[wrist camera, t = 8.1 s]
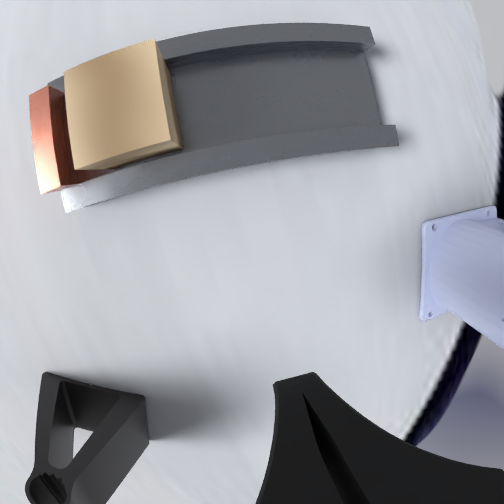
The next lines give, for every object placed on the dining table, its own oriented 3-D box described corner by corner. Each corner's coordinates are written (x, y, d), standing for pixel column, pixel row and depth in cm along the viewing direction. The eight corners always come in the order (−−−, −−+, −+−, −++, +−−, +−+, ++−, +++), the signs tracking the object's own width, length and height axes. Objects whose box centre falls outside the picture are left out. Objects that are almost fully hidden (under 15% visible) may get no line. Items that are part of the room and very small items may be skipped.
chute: (351, 41, 14) (386, 13, 10) (376, 147, 16) (420, 144, 12) (66, 92, 13) (28, 74, 9) (84, 206, 15) (46, 219, 11)
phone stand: (59, 418, 19) (19, 516, 7) (44, 370, 18) (-19, 477, 6) (149, 440, 20) (136, 556, 9) (145, 395, 19) (120, 535, 8)
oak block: (169, 73, 13) (154, 38, 8) (183, 149, 14) (170, 140, 10) (100, 94, 12) (63, 71, 8) (111, 169, 14) (74, 169, 9)
